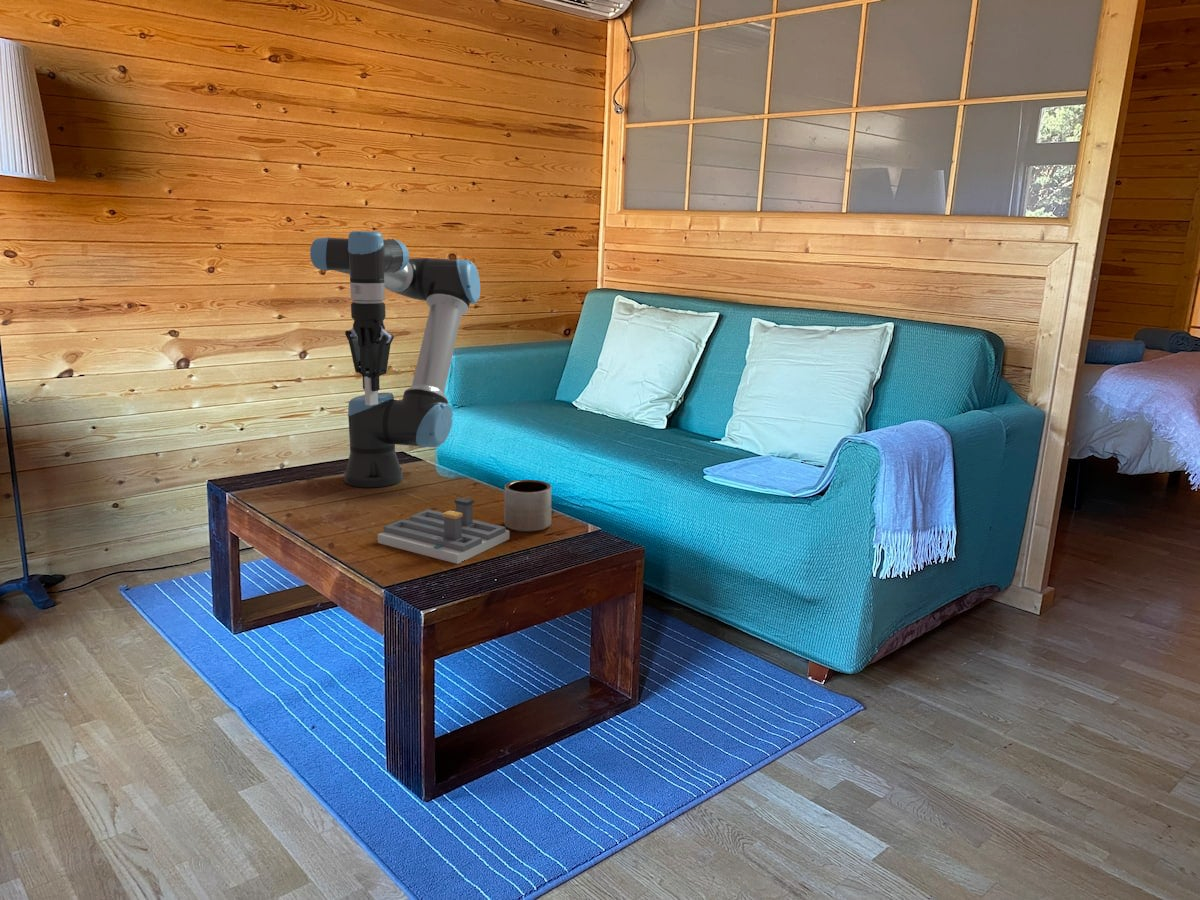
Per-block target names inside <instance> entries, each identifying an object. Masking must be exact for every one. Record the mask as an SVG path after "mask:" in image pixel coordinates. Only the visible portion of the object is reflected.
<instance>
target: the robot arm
mask: <svg viewBox="0 0 1200 900" xmlns="http://www.w3.org/2000/svg"><path fill="white" fill-rule="evenodd" d="M309 255H310V260H311V264H312V265H313V266H314V267H315V269H317V270H321V271H327V272H329V271H336V272H339V273H343V274H347V275H349V286H350V290H349V291H350V300H352V302H351V303H350V312H351V313H350V315H351V319H353V320H354V321H353V323H352V328H351V329H349V330H346V331H345V332H344V333H345V336H346V339H347V341H348V344H349V349H350V354H351V358H352V362H353V366H354V371H355V373H356V374H358V373H359V374H360V375H361V377H362V389H363V390H364V394H363V395H359V396H355V397H353V398H351V399H350V400H349V401H348V412H347V417H348V434H349V457H348V459H347V464H346V469H345V470H344V482H345V484H347V485H349V486H353V487H356V488H357V487H358V488H381V487H388V486H394V485H396V484H399V483H400V482H402V480H403V479H404V478H403V477H404V475H403V469H402V467H401V466H400V461H399V459H398V456H397V453H396V445H399V446H407V447H408V446H411V447H420V448H438V447H440V446H442V444H443V443H445V442H446V440H447V439H448V437H449V434H450V433H451V431H452V427H453V419H452V418H453V409H452V407H451V406H450V404H449V399H448V398H447V397H446V396H445V391H446V385H447V381H448V377H449V373H450V369H451V368H450V367H451V363H452V359H453V354H454V351H455V350H454V349H455V345H456V340H457V337H458V331H459V328H460V323H461V318H462V316H464V315H466V314H468V311H469V308H470V304H472V305H473V304H476V303H478V302H479V300H480V298H481V279H480V274H479V271H478V268H477V266H476V265H475V263H474V262H472V261H471V260H467V259H461V258H456V259H452V258H451V259H450V258H431V257H430V258H427V257H420V258H419V257H418V258H417V257H414V258H413V257H412V258H411V257H410V252H409V248H408V247H407V246H406V245H405V243H404V242H402V241H400V240H397V239H393V238H386V239H384V237H383V234H382V233H381V232H380V231H371V230H369V231H368V230H366V231H363V230H353V231H350V232H349V234H348V238H344V237H342V238H341V237H330V236H327V237H318V238H315V239H313V241H312V243H311V245H310V253H309ZM386 290H388V291H389V292H391V293H395V294H398V295H401V296H404V297H407V298H410V299H412V300H418V301H425V303H426V305H427V306H428V307H429V311H428V315H427V320H426V323H425V328H424V333H423V338H422V341H421V345H420V350H419V353H418V359H417V362H416V366H415V370H414V375H413V379H412V382H411V383H412V384H411V387H408V388H406V389H405V390H404V392H403V395H402V400H400V399H399V400H398V399H395V396H394V394H393V393H392V392H379V391H380V377H381V376H383V375H386V374H387V371H388V366H389V365H388V363H389V358H390V351H391V344H392V341H393V340H394V334H393V333H389V332H388V331H386V325H385V324H384V320H385V319H386V303H385V302H383V301H385V300H386V296H385V295H386Z"/></svg>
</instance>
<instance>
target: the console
mask: <svg viewBox="0 0 1200 900" xmlns="http://www.w3.org/2000/svg"><path fill="white" fill-rule="evenodd" d="M443 513H444V512H443V511H437V510H433V509H430V508H429V509H426V510H423V511H421V512H417V513H415V514H413V515H410V517H409V519H410V520H409V519H404V518H403V519H400V520H397V521H394V522H392V523H390V524H387V525H384V526H383V532H380V533H378V534H377V544H381V545H384V546H388V547H392V548H395V549H400V550H403V551H407V552H411V553H415V554H419V555H423V556H427V557H430V558H434V559H438V560H442V561H445V562H449V563H453V564H460V563H463V562H465V561H468V559H471V558H473V557H475V556H476V555H477V556H478V555H479V554H482V553H483V552H485V551H487V550H489V549H492V548H494V547H496V546H498V545H500V544H502V543H504V542H506V541H508V540H510V529H509V530H508V529H506V528H507V527H506V526H502V525H497V524H495V523H494V524H493V523H489V522H485V521H481V520H476V519H473V524H475V528H470V527H466V526H462V525H461V532H462V538H464V542H462V543H461V542H457V541H453V540H449V539H445V538H442V537H444V516H443ZM464 560H465V561H464ZM462 561H463V562H462Z"/></svg>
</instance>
